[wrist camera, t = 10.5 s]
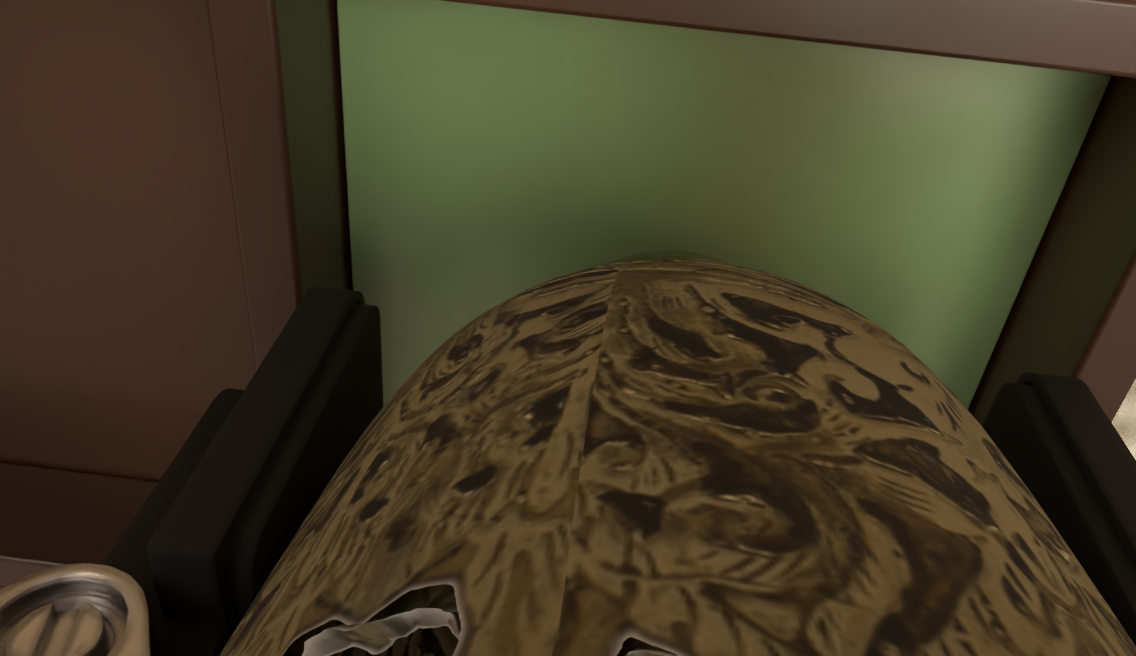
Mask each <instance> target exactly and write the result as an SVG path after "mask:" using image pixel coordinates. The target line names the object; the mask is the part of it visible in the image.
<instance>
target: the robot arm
mask: <svg viewBox="0 0 1136 656" xmlns="http://www.w3.org/2000/svg"><path fill="white" fill-rule="evenodd" d="M382 408H383V380H382V353H381V325H380V311H379V308H378V307H377V306H375V305H367V304H365V300H364V296H363V294H362V293H361V292H360V291H354V290H346V289H338V288H330V287H321V286H311V287H310V288H309V289H308V290H307V292H306V293H305V295H304V297H303V298H302V300H301V301H300V303H299V304H298V306H297V308H296V309H295V311H294V312H293V314H292V316H291V317H290V319H289V320H288V322H287V323H286V325H285V327H284V328H283V330H282V331H281V333H280V335H279V336H278V338H277V339H276V341H275V342H274V344H273V346H272V347H271V349H270V350H269V352H268V354H267V355H266V357H265V358H264V360H263V362H262V363H261V365H260V366H259V368H258V369H257V371H256V373H255V374H254V376H253V377H252V379H251V381H250V382H249V384H248V385H247V387H246V388H245V390H240V389H232V388H227V389H225V390H223V391H221V392H220V393H219V394H218V395H217V396H216V398H215V399H214V400H213V401H212V403H211V404H210V406H209V407H208V409H207V410H206V412H205V413H204V415H203V416H202V418H201V419H200V421H199V422H198V424H197V425H196V427H195V428H194V430H193V431H192V433H191V434H190V436H189V437H188V439H187V440H186V442H185V443H184V445H183V446H182V448H181V449H180V451H179V452H178V454H177V455H176V457H175V458H174V460H173V461H172V463H171V464H170V466H169V467H168V469H167V470H166V472H165V473H164V475H163V476H162V478H161V479H160V481H159V482H158V484H157V485H156V487H155V488H154V490H153V491H152V493H151V494H150V496H149V497H148V499H147V500H146V502H145V503H144V504H143V506H142V507H141V509H140V510H139V512H138V513H137V515H136V516H135V518H134V519H133V521H132V522H131V524H130V525H129V527H128V528H127V530H126V531H125V533H124V534H123V536H122V537H121V539H120V540H119V542H118V543H117V545H116V546H115V548H114V549H113V551H112V552H111V554H110V555H109V557H108V558H107V560H106V561H105V563H104V564H103V565H100V564H92V563H78V564H69V565H59V566H55V567H52V568H49V569H46V570H43V571H39V572H36V573H33V574H30V575H28V576H26V577H24V578H22V579H20V580H18V581H16V582H14V583H13V584H11V585H9V586H7V587H5V588H3V589H1V590H0V656H220V654H221V652H222V651H223V649H224V648H225V646H226V644H227V643H228V641H229V640H230V638H231V636H232V635H233V633H234V631H235V630H236V628H237V627H238V625H239V623H240V622H241V620H242V619H243V617H244V615H245V614H246V612H247V610H248V609H249V607H250V606H251V604H252V602H253V601H254V599H255V598H256V596H257V594H258V593H259V591H260V590H261V588H262V586H263V585H264V583H265V582H266V580H267V579H268V577H269V575H270V574H271V572H272V571H273V569H274V567H275V566H276V564H277V563H278V561H279V559H280V558H281V556H282V555H283V553H284V552H285V550H286V548H287V547H288V545H289V544H290V542H291V541H292V539H293V538H294V536H295V534H296V533H297V531H298V530H299V528H300V527H301V525H302V523H303V522H304V520H305V519H306V517H307V516H308V514H309V513H310V511H311V509H312V508H313V506H314V505H315V503H316V502H317V500H318V499H319V497H320V496H321V494H322V493H323V491H324V489H325V488H326V486H327V485H328V483H329V482H330V480H331V479H332V477H333V476H334V474H335V472H336V471H337V469H338V468H339V467H340V465H341V464H342V462H343V461H344V459H345V458H346V457H347V455H348V454H349V452H350V451H351V449H352V448H353V447H354V445H355V444H356V442H357V441H358V439H359V438H360V436H361V435H362V434H363V432H364V431H365V430H366V428H367V427H368V426H369V425H370V423H371V422H372V421H373V420H374V418H375V417H376V416H377V415H378V413H379V412H380V411H381V409H382ZM982 427H983V429H984V430H985V431H986V433H987V434H988V435H989V437H990V438H991V439H992V441H993V442H994V443H995V445H996V446H997V447H998V449H999V450H1000V451H1001V453H1002V454H1003V455H1004V457H1005V458H1006V459H1007V461H1008V462H1009V463H1010V465H1011V466H1012V467H1013V469H1014V470H1015V472H1016V473H1017V474H1018V476H1019V477H1020V478H1021V480H1022V481H1023V482H1024V484H1025V485H1026V487H1027V488H1028V489H1029V491H1030V492H1031V493H1032V495H1033V496H1034V497H1035V499H1036V500H1037V502H1038V503H1039V505H1040V506H1041V507H1042V509H1043V510H1044V512H1045V513H1046V515H1047V516H1048V518H1049V519H1050V521H1051V522H1052V523H1053V525H1054V526H1055V528H1056V529H1057V531H1058V532H1059V534H1060V535H1061V537H1062V538H1063V539H1064V541H1065V542H1066V544H1067V545H1068V547H1069V548H1070V550H1071V551H1072V553H1073V554H1074V556H1075V557H1076V559H1077V560H1078V561H1079V563H1080V564H1081V566H1082V567H1083V569H1084V570H1085V572H1086V573H1087V575H1088V576H1089V578H1090V579H1091V581H1092V582H1093V584H1094V585H1095V587H1096V588H1097V590H1098V591H1099V593H1100V594H1101V595H1102V597H1103V598H1104V600H1105V601H1106V603H1107V604H1108V606H1109V607H1110V609H1111V610H1112V612H1113V613H1114V615H1115V616H1116V618H1117V619H1118V621H1119V622H1120V624H1121V625H1122V627H1123V628H1124V630H1125V631H1126V633H1127V634H1128V636H1129V637H1130V639H1131V640H1132V642H1133V643H1134V645H1135V646H1136V460H1135V459H1134V457H1133V456H1132V454H1131V453H1130V451H1129V449H1128V448H1127V446H1126V445H1125V443H1124V442H1123V440H1122V439H1121V437H1120V435H1119V434H1118V432H1117V431H1116V429H1115V428H1114V426H1113V425H1112V423H1111V421H1110V420H1109V418H1108V417H1107V415H1106V414H1105V412H1104V410H1103V409H1102V407H1101V406H1100V404H1099V403H1098V401H1097V400H1096V398H1095V396H1094V395H1093V393H1092V392H1091V390H1090V389H1089V387H1088V386H1087V384H1086V383H1085V382H1084V381H1083V380H1081V379H1078V378H1073V377H1065V376H1057V375H1049V374H1040V373H1032V372H1027V373H1024V374H1022V375H1021V376H1020V377H1019V378H1018V379H1017V380H1016V382H1015V383H1010V382H1008V383H1005V384H1004V385H1002V386H1001V387H1000V389H999V391H998V393H997V395H996V397H995V399H994V401H993V404H992V406H991V408H990V410H989V412H988V415H987V417H986V419H985V421H984V424H983V426H982Z"/></svg>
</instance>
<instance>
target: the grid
mask: <svg viewBox="0 0 1136 656" xmlns="http://www.w3.org/2000/svg"><path fill="white" fill-rule="evenodd" d="M663 250H664V251H685V252H693V253H698V254H703V255H707V256H711V257H714V258H717V259H720V260H723V261H725V262H728V263H730V264H732V265H736V266H741V267H745V268H750V269H755V270H759V271H764V272H767V273H770V274H773V275H776V276H779V277H782V278H785V279H788V280H791V281H794V282H797V283H800V284H802V285H804V286H806V287H809V288H811V289H813V290H815V291H817V292H820V293H822V294H824V295H826V296H828V297H830V298H832V299H834V300H836V301H838V302H840V303H841V304H843V305H845V306H847V307H849V308H850V309H852V310H854V311H855V312H857V313H859V314H860V315H862V316H864V317H866V318H867V319H869V320H871V321H872V322H874V323H876V324H877V325H879V326H880V327H881V328H883V329H884V330H885V331H886V332H888V333H889V334H890V335H892V336H893V337H894V338H896V339H897V340H898V341H899V342H901V343H902V344H903V345H905V346H906V347H907V348H908V349H909V350H910V351H911V352H912V353H913V354H914V355H915V356H916V357H917V358H918V359H920V360H921V361H922V362H923V363H924V364H925V365H926V366H927V367H928V368H929V369H930V370H931V371H932V372H933V373H934V374H935V375H936V376H937V377H938V378H939V379H940V380H941V381H942V382H943V383H944V384H945V385H946V386H947V387H948V388H949V389H950V390H951V391H952V392H953V393H954V394H955V395H956V396H957V397H958V399H959V400H960V401H961V402H962V403H963V405H964V406H965V407H966V408H967V409H968V411H969V412H970V413H971V414H972V415H973V417H974V418H975V419H976V420H977V421H978V423H979V424H980V425H981V426H983V424H984V421H985V419H986V417H987V415H988V412H989V410H990V408H991V406H992V404H993V401H994V399H995V397H996V395H997V393H998V391H999V389H1000V387H1001V386H1002V385H1004V384H1005V383H1008V382H1010V383H1015V382H1016V380H1017V379H1018V378H1019V377H1020V376H1021V375H1022V374H1024V373H1027V372H1032V373H1040V374H1049V375H1057V376H1065V377H1073V378H1078V379H1081V380H1083V381H1084V382H1085V383H1086V384H1087V386H1088V387H1089V389H1090V390H1091V392H1092V393H1093V395H1094V396H1095V398H1096V400H1097V401H1098V403H1099V404H1100V406H1101V407H1102V409H1103V410H1104V412H1105V414H1106V415H1107V417H1108V418H1109V420H1110V421H1111V422H1112V420H1113V418H1114V416H1115V415H1116V413H1117V411H1118V409H1119V407H1120V406H1121V404H1122V402H1123V400H1124V398H1125V396H1126V395H1127V393H1128V391H1129V389H1130V387H1131V386H1132V384H1133V382H1134V380H1135V378H1136V0H0V590H1V589H3V588H5V587H7V586H9V585H11V584H13V583H14V582H16V581H18V580H20V579H22V578H24V577H26V576H28V575H30V574H33V573H36V572H39V571H43V570H46V569H49V568H52V567H55V566H59V565H69V564H78V563H92V564H100V565H103V564H104V563H105V561H106V560H107V558H108V557H109V555H110V554H111V552H112V551H113V549H114V548H115V546H116V545H117V543H118V542H119V540H120V539H121V537H122V536H123V534H124V533H125V531H126V530H127V528H128V527H129V525H130V524H131V522H132V521H133V519H134V518H135V516H136V515H137V513H138V512H139V510H140V509H141V507H142V506H143V504H144V503H145V502H146V500H147V499H148V497H149V496H150V494H151V493H152V491H153V490H154V488H155V487H156V485H157V484H158V482H159V481H160V479H161V478H162V476H163V475H164V473H165V472H166V470H167V469H168V467H169V466H170V464H171V463H172V461H173V460H174V458H175V457H176V455H177V454H178V452H179V451H180V449H181V448H182V446H183V445H184V443H185V442H186V440H187V439H188V437H189V436H190V434H191V433H192V431H193V430H194V428H195V427H196V425H197V424H198V422H199V421H200V419H201V418H202V416H203V415H204V413H205V412H206V410H207V409H208V407H209V406H210V404H211V403H212V401H213V400H214V399H215V398H216V396H217V395H218V394H219V393H220V392H221V391H223V390H225V389H227V388H232V389H240V390H245V388H246V387H247V385H248V384H249V382H250V381H251V379H252V377H253V376H254V374H255V373H256V371H257V369H258V368H259V366H260V365H261V363H262V362H263V360H264V358H265V357H266V355H267V354H268V352H269V350H270V349H271V347H272V346H273V344H274V342H275V341H276V339H277V338H278V336H279V335H280V333H281V331H282V330H283V328H284V327H285V325H286V323H287V322H288V320H289V319H290V317H291V316H292V314H293V312H294V311H295V309H296V308H297V306H298V304H299V303H300V301H301V300H302V298H303V297H304V295H305V293H306V292H307V290H308V289H309V288H310V287H311V286H321V287H330V288H338V289H346V290H354V291H360V292H361V293H362V294H363V296H364V300H365V304H367V305H375V306H377V307H378V308H379V311H380V325H381V353H382V380H383V407H384V406H385V404H386V403H387V402H388V401H389V399H390V398H391V397H392V396H393V395H394V394H395V392H396V391H397V390H398V389H399V388H400V386H401V385H402V384H403V383H404V382H405V380H406V379H407V378H408V377H409V376H410V375H411V374H412V373H413V372H414V371H415V370H416V369H417V368H418V367H419V366H420V365H421V364H422V363H423V362H424V361H425V360H426V359H427V358H428V357H429V356H430V355H431V354H432V353H433V352H434V351H435V350H437V349H438V348H439V347H440V346H441V345H442V344H443V343H444V342H445V341H447V340H448V339H449V338H450V337H451V336H452V335H453V334H454V333H455V332H457V331H458V330H460V329H461V328H463V327H464V326H465V325H467V324H468V323H470V322H471V321H473V320H474V319H475V318H477V317H478V316H480V315H481V314H483V313H485V312H486V311H488V310H490V309H492V308H493V307H495V306H497V305H499V304H501V303H502V302H504V301H506V300H508V299H510V298H512V297H514V296H516V295H517V294H519V293H521V292H523V291H525V290H527V289H529V288H532V287H534V286H537V285H539V284H542V283H544V282H547V281H549V280H552V279H554V278H557V277H560V276H564V275H567V274H571V273H574V272H578V271H581V270H585V269H588V268H593V267H598V266H601V265H603V264H606V263H608V262H611V261H613V260H616V259H619V258H622V257H625V256H629V255H632V254H638V253H643V252H650V251H663Z"/></svg>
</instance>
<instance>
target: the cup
mask: <svg viewBox="0 0 1136 656" xmlns="http://www.w3.org/2000/svg"><path fill="white" fill-rule="evenodd" d="M220 656H1136V646H1135V645H1134V643H1133V642H1132V640H1131V639H1130V637H1129V636H1128V634H1127V633H1126V631H1125V630H1124V628H1123V627H1122V625H1121V624H1120V622H1119V621H1118V619H1117V618H1116V616H1115V615H1114V613H1113V612H1112V610H1111V609H1110V607H1109V606H1108V604H1107V603H1106V601H1105V600H1104V598H1103V597H1102V595H1101V594H1100V593H1099V591H1098V590H1097V588H1096V587H1095V585H1094V584H1093V582H1092V581H1091V579H1090V578H1089V576H1088V575H1087V573H1086V572H1085V570H1084V569H1083V567H1082V566H1081V564H1080V563H1079V561H1078V560H1077V559H1076V557H1075V556H1074V554H1073V553H1072V551H1071V550H1070V548H1069V547H1068V545H1067V544H1066V542H1065V541H1064V539H1063V538H1062V537H1061V535H1060V534H1059V532H1058V531H1057V529H1056V528H1055V526H1054V525H1053V523H1052V522H1051V521H1050V519H1049V518H1048V516H1047V515H1046V513H1045V512H1044V510H1043V509H1042V507H1041V506H1040V505H1039V503H1038V502H1037V500H1036V499H1035V497H1034V496H1033V495H1032V493H1031V492H1030V491H1029V489H1028V488H1027V487H1026V485H1025V484H1024V482H1023V481H1022V480H1021V478H1020V477H1019V476H1018V474H1017V473H1016V472H1015V470H1014V469H1013V467H1012V466H1011V465H1010V463H1009V462H1008V461H1007V459H1006V458H1005V457H1004V455H1003V454H1002V453H1001V451H1000V450H999V449H998V447H997V446H996V445H995V443H994V442H993V441H992V439H991V438H990V437H989V435H988V434H987V433H986V431H985V430H984V429H983V427H982V426H981V425H980V424H979V423H978V421H977V420H976V419H975V418H974V417H973V415H972V414H971V413H970V412H969V411H968V409H967V408H966V407H965V406H964V405H963V403H962V402H961V401H960V400H959V399H958V397H957V396H956V395H955V394H954V393H953V392H952V391H951V390H950V389H949V388H948V387H947V386H946V385H945V384H944V383H943V382H942V381H941V380H940V379H939V378H938V377H937V376H936V375H935V374H934V373H933V372H932V371H931V370H930V369H929V368H928V367H927V366H926V365H925V364H924V363H923V362H922V361H921V360H920V359H918V358H917V357H916V356H915V355H914V354H913V353H912V352H911V351H910V350H909V349H908V348H907V347H906V346H905V345H903V344H902V343H901V342H899V341H898V340H897V339H896V338H894V337H893V336H892V335H890V334H889V333H888V332H886V331H885V330H884V329H883V328H881V327H880V326H879V325H877V324H876V323H874V322H872V321H871V320H869V319H867V318H866V317H864V316H862V315H860V314H859V313H857V312H855V311H854V310H852V309H850V308H849V307H847V306H845V305H843V304H841V303H840V302H838V301H836V300H834V299H832V298H830V297H828V296H826V295H824V294H822V293H820V292H817V291H815V290H813V289H811V288H809V287H806V286H804V285H802V284H800V283H797V282H794V281H791V280H788V279H785V278H782V277H779V276H776V275H773V274H770V273H767V272H764V271H759V270H755V269H750V268H745V267H741V266H736V265H732V264H730V263H728V262H725V261H723V260H720V259H717V258H714V257H711V256H707V255H703V254H698V253H693V252H685V251H664V250H663V251H650V252H643V253H638V254H632V255H629V256H625V257H622V258H619V259H616V260H613V261H611V262H608V263H606V264H603V265H601V266H598V267H593V268H588V269H585V270H581V271H578V272H574V273H571V274H567V275H564V276H560V277H557V278H554V279H552V280H549V281H547V282H544V283H542V284H539V285H537V286H534V287H532V288H529V289H527V290H525V291H523V292H521V293H519V294H517V295H516V296H514V297H512V298H510V299H508V300H506V301H504V302H502V303H501V304H499V305H497V306H495V307H493V308H492V309H490V310H488V311H486V312H485V313H483V314H481V315H480V316H478V317H477V318H475V319H474V320H473V321H471V322H470V323H468V324H467V325H465V326H464V327H463V328H461V329H460V330H458V331H457V332H455V333H454V334H453V335H452V336H451V337H450V338H449V339H448V340H447V341H445V342H444V343H443V344H442V345H441V346H440V347H439V348H438V349H437V350H435V351H434V352H433V353H432V354H431V355H430V356H429V357H428V358H427V359H426V360H425V361H424V362H423V363H422V364H421V365H420V366H419V367H418V368H417V369H416V370H415V371H414V372H413V373H412V374H411V375H410V376H409V377H408V378H407V379H406V380H405V382H404V383H403V384H402V385H401V386H400V388H399V389H398V390H397V391H396V392H395V394H394V395H393V396H392V397H391V398H390V399H389V401H388V402H387V403H386V404H385V406H384V407H383V408H382V409H381V411H380V412H379V413H378V415H377V416H376V417H375V418H374V420H373V421H372V422H371V423H370V425H369V426H368V427H367V428H366V430H365V431H364V432H363V434H362V435H361V436H360V438H359V439H358V441H357V442H356V444H355V445H354V447H353V448H352V449H351V451H350V452H349V454H348V455H347V457H346V458H345V459H344V461H343V462H342V464H341V465H340V467H339V468H338V469H337V471H336V472H335V474H334V476H333V477H332V479H331V480H330V482H329V483H328V485H327V486H326V488H325V489H324V491H323V493H322V494H321V496H320V497H319V499H318V500H317V502H316V503H315V505H314V506H313V508H312V509H311V511H310V513H309V514H308V516H307V517H306V519H305V520H304V522H303V523H302V525H301V527H300V528H299V530H298V531H297V533H296V534H295V536H294V538H293V539H292V541H291V542H290V544H289V545H288V547H287V548H286V550H285V552H284V553H283V555H282V556H281V558H280V559H279V561H278V563H277V564H276V566H275V567H274V569H273V571H272V572H271V574H270V575H269V577H268V579H267V580H266V582H265V583H264V585H263V586H262V588H261V590H260V591H259V593H258V594H257V596H256V598H255V599H254V601H253V602H252V604H251V606H250V607H249V609H248V610H247V612H246V614H245V615H244V617H243V619H242V620H241V622H240V623H239V625H238V627H237V628H236V630H235V631H234V633H233V635H232V636H231V638H230V640H229V641H228V643H227V644H226V646H225V648H224V649H223V651H222V652H221V654H220Z"/></svg>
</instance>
